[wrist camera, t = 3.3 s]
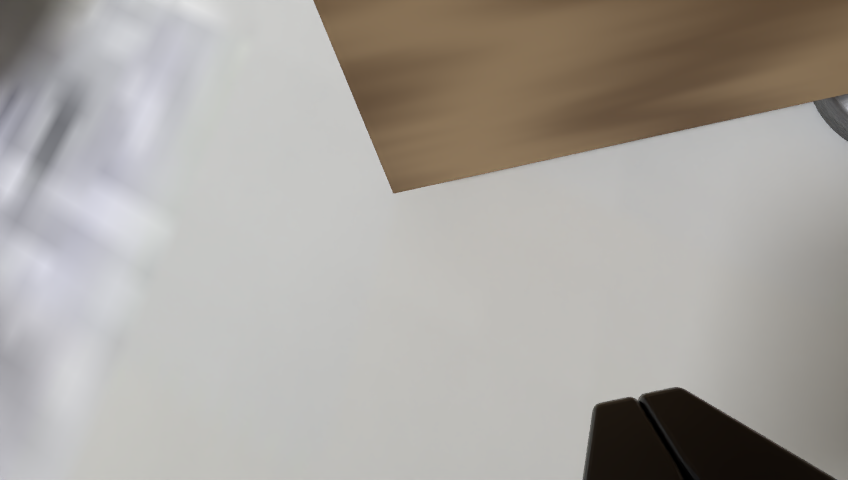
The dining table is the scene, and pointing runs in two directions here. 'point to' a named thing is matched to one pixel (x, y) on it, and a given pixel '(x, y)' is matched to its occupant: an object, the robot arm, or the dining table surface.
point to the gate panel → (570, 73)
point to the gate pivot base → (835, 113)
